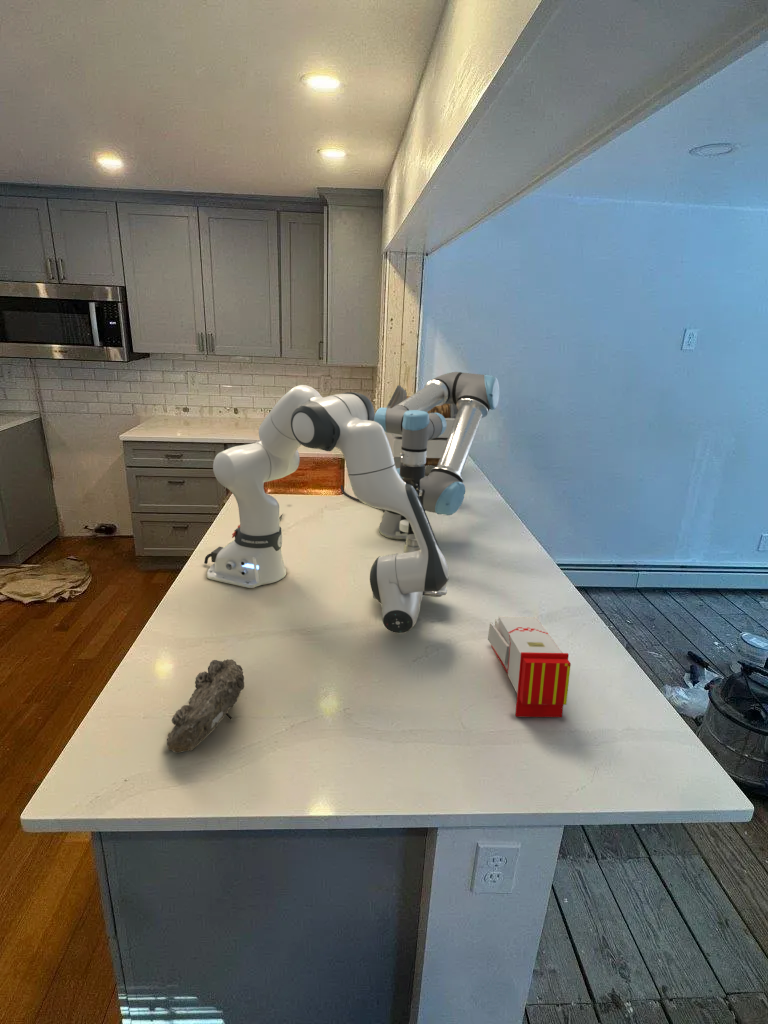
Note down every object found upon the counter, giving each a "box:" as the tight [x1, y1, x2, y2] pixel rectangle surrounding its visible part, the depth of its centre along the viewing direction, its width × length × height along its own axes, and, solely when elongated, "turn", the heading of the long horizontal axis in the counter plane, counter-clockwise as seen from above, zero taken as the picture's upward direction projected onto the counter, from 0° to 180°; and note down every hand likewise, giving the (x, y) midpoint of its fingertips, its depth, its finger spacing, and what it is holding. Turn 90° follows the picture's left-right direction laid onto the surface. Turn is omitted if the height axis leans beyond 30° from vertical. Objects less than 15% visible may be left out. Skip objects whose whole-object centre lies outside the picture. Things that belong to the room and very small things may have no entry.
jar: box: [403, 534, 420, 553], centre depth 157 cm, size 5×5×16 cm
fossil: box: [166, 658, 245, 754], centre depth 106 cm, size 22×10×15 cm
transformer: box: [385, 384, 458, 469], centre depth 268 cm, size 34×33×41 cm
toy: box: [487, 616, 572, 718], centre depth 123 cm, size 12×13×30 cm
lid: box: [399, 519, 409, 533], centre depth 174 cm, size 6×6×2 cm
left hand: (412, 568), depth 159 cm, fingers closed on jar, 5 cm apart
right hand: (408, 536), depth 175 cm, fingers closed on lid, 5 cm apart
